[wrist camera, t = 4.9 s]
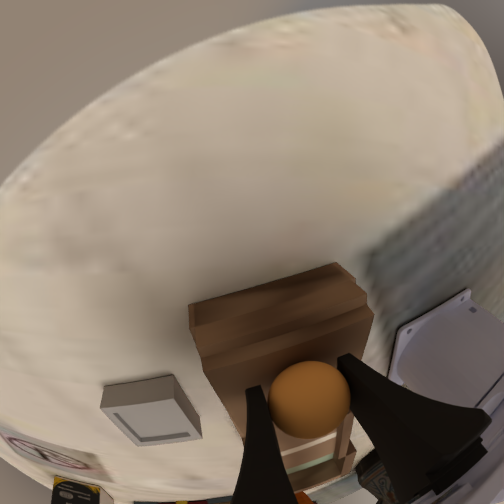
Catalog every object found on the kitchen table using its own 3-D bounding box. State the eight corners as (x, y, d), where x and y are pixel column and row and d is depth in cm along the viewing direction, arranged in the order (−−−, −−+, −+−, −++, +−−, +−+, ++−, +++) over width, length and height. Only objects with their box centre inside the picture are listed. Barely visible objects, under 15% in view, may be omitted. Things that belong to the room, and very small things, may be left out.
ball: (329, 334, 11) (371, 389, 8) (328, 382, 13) (359, 431, 9) (252, 359, 11) (277, 427, 7) (263, 404, 12) (285, 461, 9)
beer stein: (440, 420, 33) (501, 500, 11) (359, 480, 35) (405, 564, 13) (428, 404, 27) (514, 514, 4) (319, 480, 29) (375, 595, 6)
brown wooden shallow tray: (354, 256, 14) (400, 290, 11) (340, 455, 25) (352, 479, 22) (166, 310, 13) (161, 367, 9) (260, 482, 24) (268, 508, 20)
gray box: (173, 374, 15) (173, 398, 13) (199, 417, 17) (202, 438, 15) (104, 386, 14) (99, 408, 12) (138, 426, 16) (137, 446, 14)
